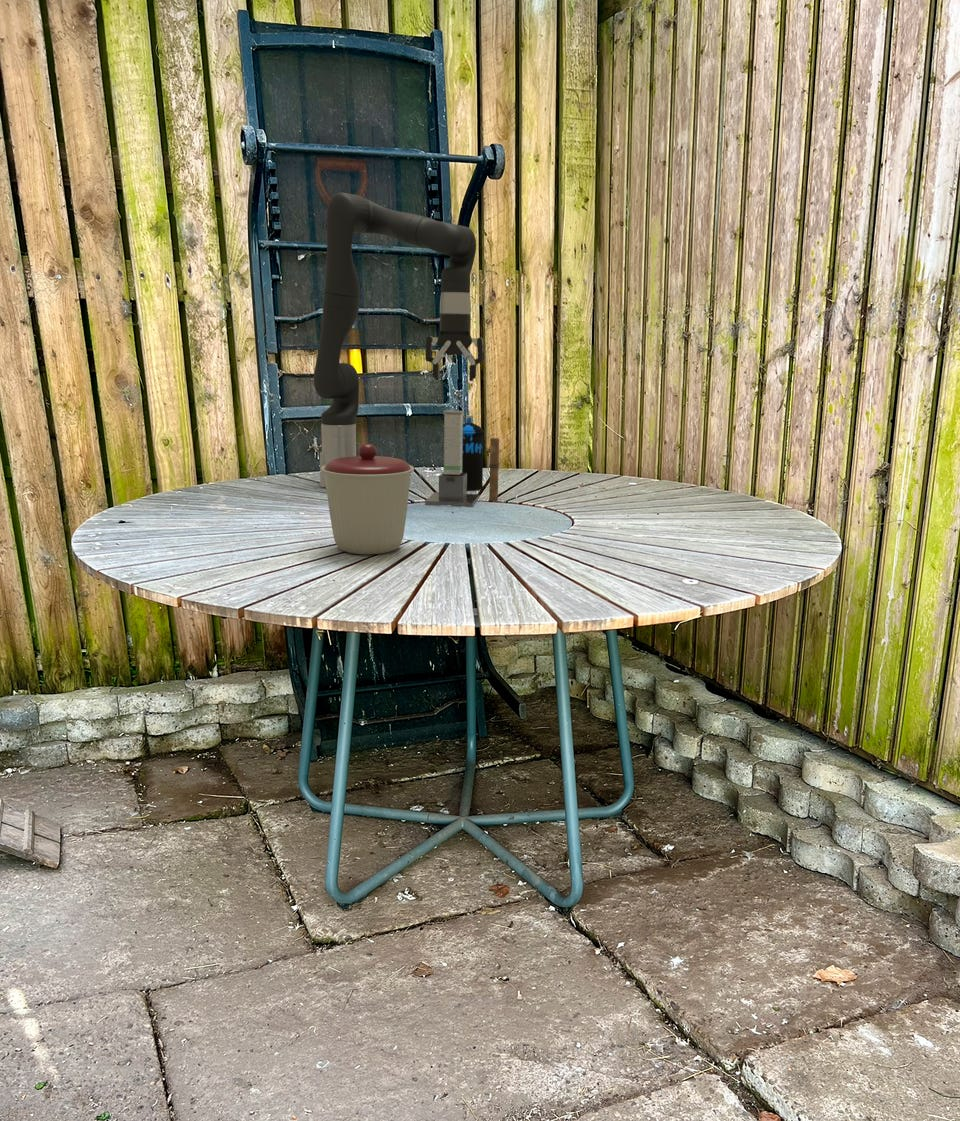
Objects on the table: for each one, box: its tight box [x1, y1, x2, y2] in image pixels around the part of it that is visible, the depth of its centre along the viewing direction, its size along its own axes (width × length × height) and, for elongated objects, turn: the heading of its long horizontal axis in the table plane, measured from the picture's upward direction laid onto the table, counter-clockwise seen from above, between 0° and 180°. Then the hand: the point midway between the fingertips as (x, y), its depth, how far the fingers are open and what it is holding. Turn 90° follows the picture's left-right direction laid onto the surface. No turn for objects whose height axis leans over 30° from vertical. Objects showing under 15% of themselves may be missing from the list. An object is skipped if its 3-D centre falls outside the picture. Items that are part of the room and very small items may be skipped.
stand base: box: [424, 471, 480, 508], centre depth 228 cm, size 12×12×7 cm
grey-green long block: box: [442, 409, 465, 475], centre depth 225 cm, size 5×5×16 cm
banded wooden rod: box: [488, 437, 500, 502], centre depth 229 cm, size 2×2×16 cm
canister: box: [321, 443, 415, 556], centre depth 176 cm, size 18×18×21 cm
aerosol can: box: [462, 414, 485, 492], centre depth 245 cm, size 8×8×20 cm
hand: (454, 380), depth 221 cm, fingers open, 8 cm apart
